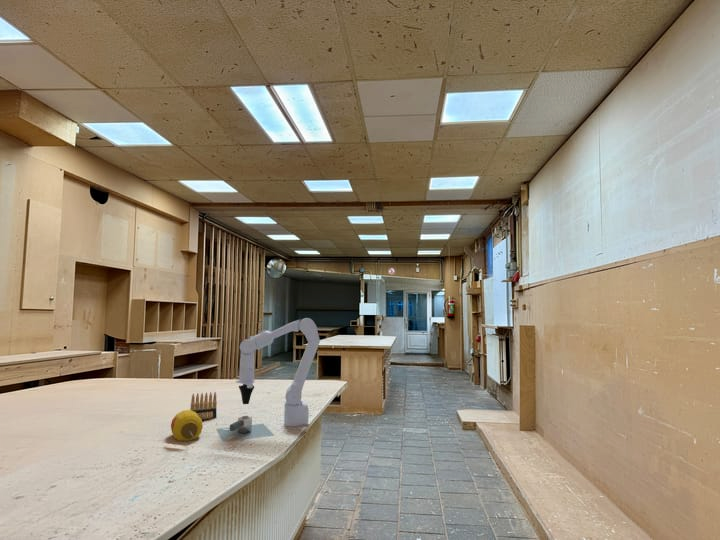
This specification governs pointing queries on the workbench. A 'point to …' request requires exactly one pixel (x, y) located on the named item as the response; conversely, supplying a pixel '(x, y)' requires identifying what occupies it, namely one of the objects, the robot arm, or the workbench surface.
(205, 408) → the ammunition clip
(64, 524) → the workbench surface
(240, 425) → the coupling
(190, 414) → the lantern
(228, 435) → the mounting plate
